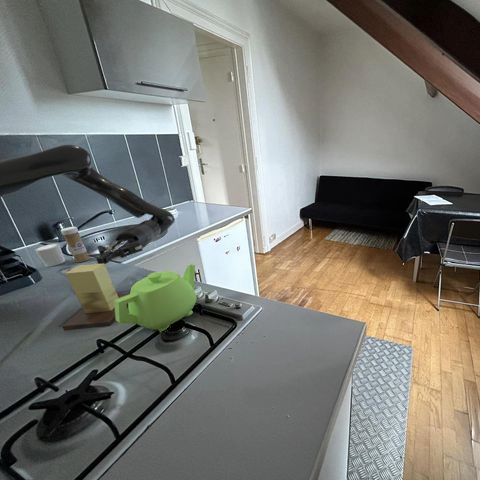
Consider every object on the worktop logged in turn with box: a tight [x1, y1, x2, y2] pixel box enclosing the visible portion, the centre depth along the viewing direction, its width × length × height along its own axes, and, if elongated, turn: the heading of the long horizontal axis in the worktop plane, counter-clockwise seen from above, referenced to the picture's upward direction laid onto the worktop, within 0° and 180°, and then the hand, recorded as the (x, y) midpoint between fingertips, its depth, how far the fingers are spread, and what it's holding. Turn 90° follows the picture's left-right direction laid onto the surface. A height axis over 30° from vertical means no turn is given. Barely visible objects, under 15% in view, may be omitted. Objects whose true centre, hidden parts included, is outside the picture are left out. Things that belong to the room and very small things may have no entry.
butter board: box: [61, 283, 130, 331], centre depth 69 cm, size 11×13×7 cm
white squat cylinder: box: [34, 243, 66, 268], centre depth 100 cm, size 7×7×7 cm
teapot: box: [114, 263, 198, 333], centre depth 64 cm, size 20×13×13 cm
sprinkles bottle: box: [60, 226, 91, 263], centre depth 100 cm, size 5×5×14 cm
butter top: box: [65, 263, 113, 295], centre depth 66 cm, size 6×4×6 cm, turn 94°
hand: (100, 261), depth 71 cm, fingers closed
